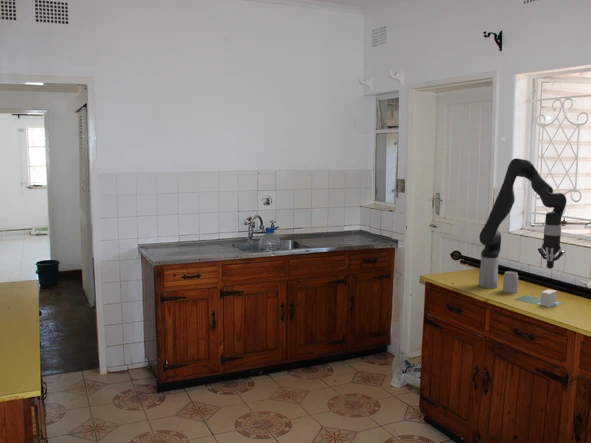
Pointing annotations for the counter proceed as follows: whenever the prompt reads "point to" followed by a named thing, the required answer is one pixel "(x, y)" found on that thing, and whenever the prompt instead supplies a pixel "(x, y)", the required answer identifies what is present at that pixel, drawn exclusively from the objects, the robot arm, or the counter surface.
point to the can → (510, 282)
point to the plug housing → (548, 297)
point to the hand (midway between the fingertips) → (549, 268)
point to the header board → (535, 301)
